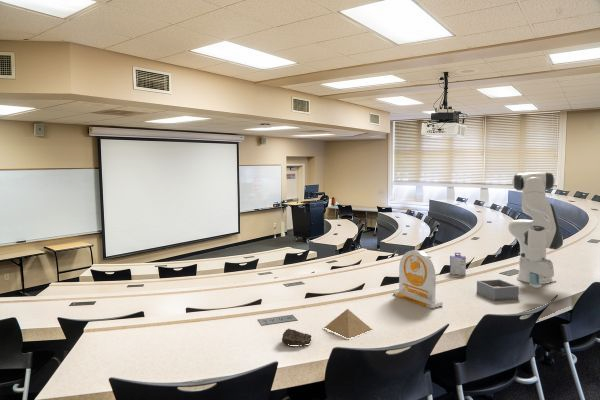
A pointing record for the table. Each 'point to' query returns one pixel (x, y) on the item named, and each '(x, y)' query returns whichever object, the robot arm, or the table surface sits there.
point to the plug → (534, 280)
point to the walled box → (497, 290)
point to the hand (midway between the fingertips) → (535, 281)
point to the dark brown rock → (295, 337)
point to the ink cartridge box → (458, 264)
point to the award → (417, 279)
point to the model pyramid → (348, 325)
